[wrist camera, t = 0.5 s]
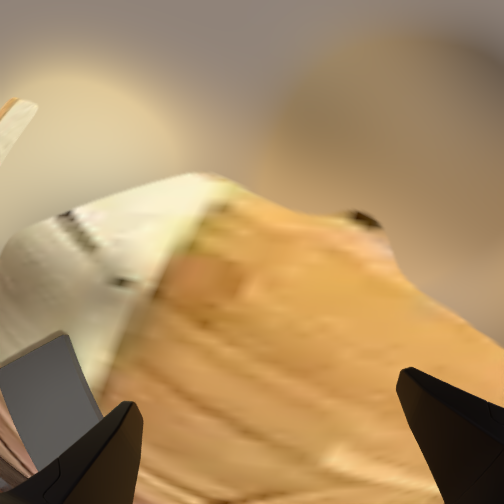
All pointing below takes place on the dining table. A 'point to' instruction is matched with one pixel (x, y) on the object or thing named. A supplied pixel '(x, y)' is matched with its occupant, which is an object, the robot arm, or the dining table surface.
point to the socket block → (9, 476)
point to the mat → (49, 400)
